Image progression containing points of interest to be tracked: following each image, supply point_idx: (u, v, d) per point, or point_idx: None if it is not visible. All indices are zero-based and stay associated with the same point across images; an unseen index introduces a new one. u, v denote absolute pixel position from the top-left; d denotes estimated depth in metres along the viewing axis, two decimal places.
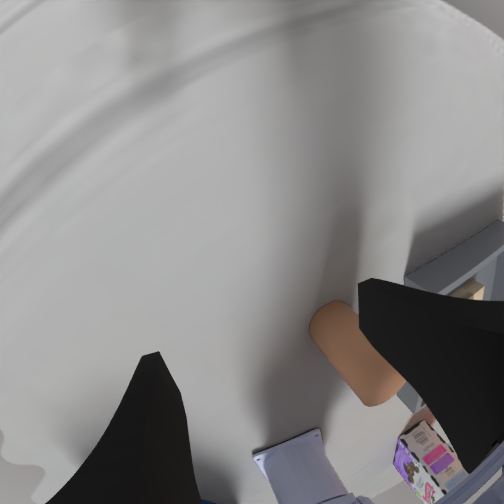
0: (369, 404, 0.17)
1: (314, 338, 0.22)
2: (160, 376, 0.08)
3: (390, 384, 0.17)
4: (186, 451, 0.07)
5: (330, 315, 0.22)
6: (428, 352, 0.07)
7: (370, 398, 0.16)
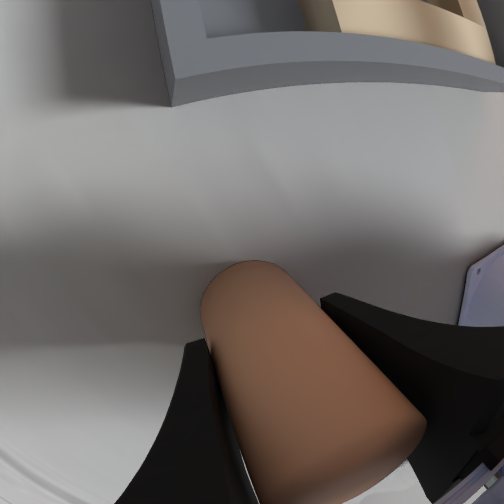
0: (387, 474, 0.06)
1: None
2: (210, 362, 0.08)
3: (362, 467, 0.05)
4: (235, 438, 0.07)
5: None
6: (387, 377, 0.07)
7: (365, 485, 0.05)
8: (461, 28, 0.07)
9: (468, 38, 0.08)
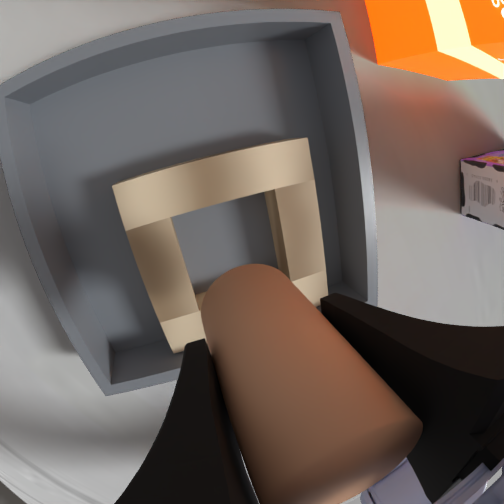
0: (379, 478, 0.06)
1: None
2: (210, 362, 0.08)
3: (360, 469, 0.05)
4: (235, 438, 0.07)
5: None
6: (387, 377, 0.07)
7: (358, 488, 0.05)
8: None
9: None
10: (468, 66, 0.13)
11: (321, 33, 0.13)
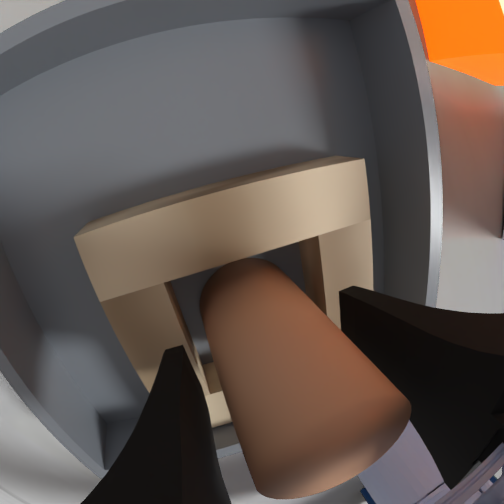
0: (372, 462, 0.06)
1: None
2: (186, 369, 0.08)
3: (351, 447, 0.05)
4: (212, 445, 0.07)
5: None
6: (408, 365, 0.07)
7: (351, 471, 0.06)
8: None
9: None
10: None
11: (378, 12, 0.08)
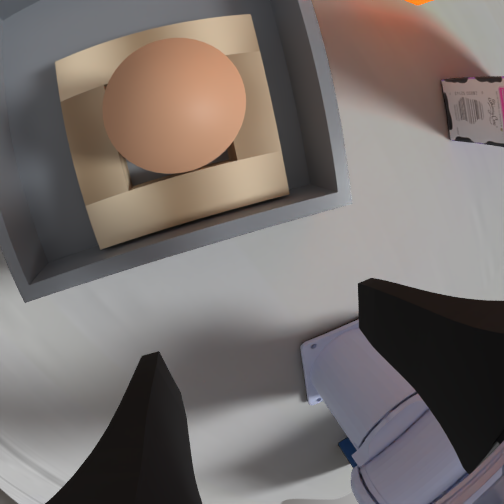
0: (222, 144, 0.08)
1: None
2: (160, 376, 0.08)
3: (182, 92, 0.07)
4: (186, 451, 0.07)
5: None
6: (428, 352, 0.07)
7: (198, 146, 0.08)
8: (228, 177, 0.14)
9: (239, 183, 0.14)
10: None
11: None
